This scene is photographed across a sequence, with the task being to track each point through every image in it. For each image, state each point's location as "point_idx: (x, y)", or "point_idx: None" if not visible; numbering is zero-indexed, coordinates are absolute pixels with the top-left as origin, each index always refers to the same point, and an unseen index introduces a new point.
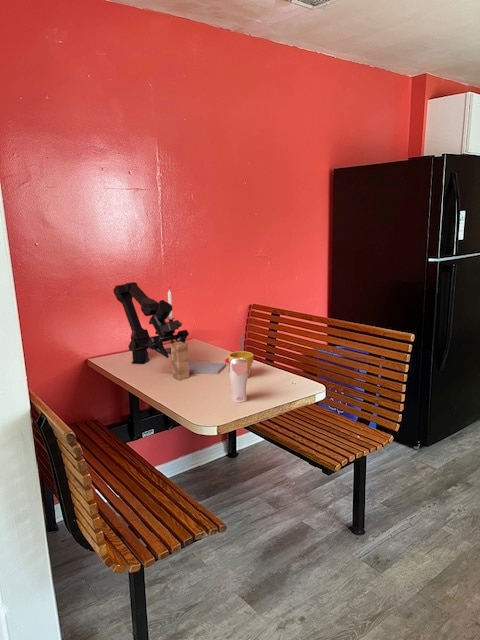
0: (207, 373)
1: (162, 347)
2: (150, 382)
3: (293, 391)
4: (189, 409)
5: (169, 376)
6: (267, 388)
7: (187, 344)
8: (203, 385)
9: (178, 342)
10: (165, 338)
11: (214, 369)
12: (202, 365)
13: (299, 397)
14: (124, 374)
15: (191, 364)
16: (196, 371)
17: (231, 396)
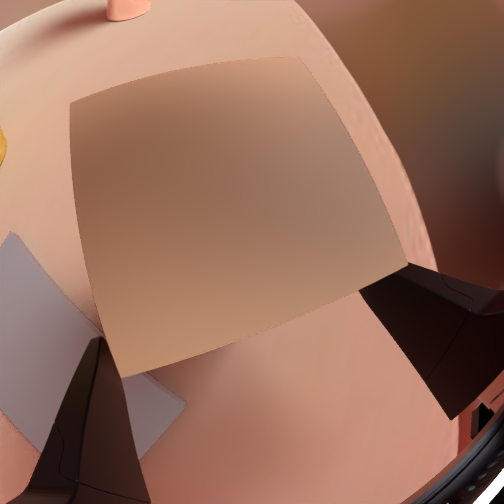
0: (47, 274)
1: (466, 290)
2: None
3: (11, 36)
4: (275, 12)
5: (266, 339)
6: (23, 53)
7: (74, 115)
8: None
9: (200, 312)
10: (466, 496)
11: (7, 275)
12: (37, 387)
13: (34, 14)
14: (434, 432)
15: None
16: (89, 322)
17: (147, 2)
